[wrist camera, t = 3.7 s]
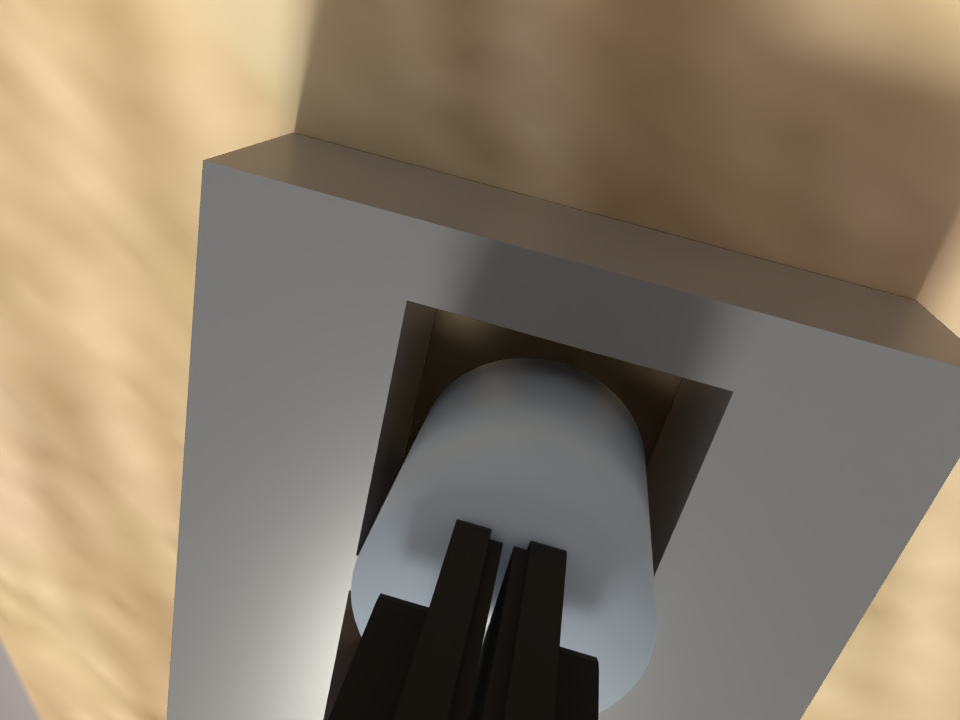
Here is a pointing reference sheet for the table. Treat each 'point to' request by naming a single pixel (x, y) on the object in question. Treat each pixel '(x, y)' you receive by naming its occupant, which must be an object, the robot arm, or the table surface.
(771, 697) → the grey slotted tray
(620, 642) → the pale blue rounded dome
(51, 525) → the table surface
